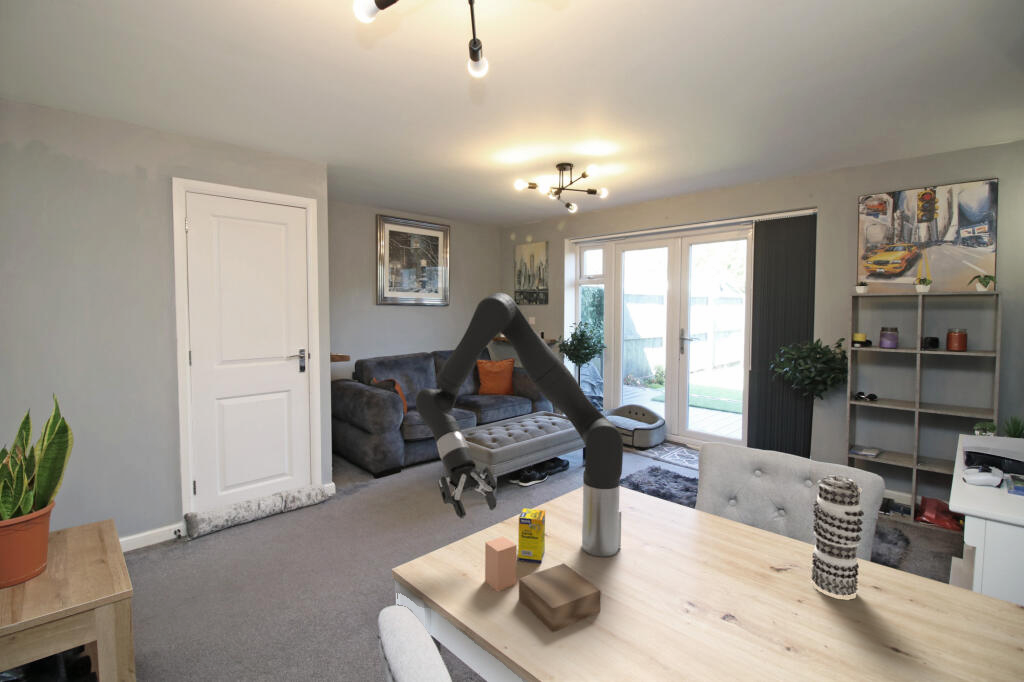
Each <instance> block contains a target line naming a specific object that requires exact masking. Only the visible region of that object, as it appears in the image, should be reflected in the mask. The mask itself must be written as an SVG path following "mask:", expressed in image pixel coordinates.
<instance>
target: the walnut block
mask: <svg viewBox="0 0 1024 682" xmlns="http://www.w3.org/2000/svg"><path fill="white" fill-rule="evenodd" d="M601 593H602V591H601V589H600V588H599V587H598V586H596V585H595V584H594V583H592V582H591V581H589V580H588V579H586V578H585V577H584V576H583V575H581V574H580V573H578V572H577V571H576V570H574V569H572V568H571V567H570V566H568V565H567V564H566V563H561V564H558V565H555V566H552V567H548V568H545V569H543V570H540V571H537V572H534V573H532V574H528V575H526V576H525V575H524V576H522V577H519V578H518V601H520V602H521V603H522V604H523V605H524V606H525V607H526V609H528V611H530V613H532V614H533V615H534V616H535V617H536V618H537V619H538V620H539V621H541V622H542V624H544V625H545V626H546V627H547V629H549V630H550V631H551V633H554V632H557V631H559V630H561V629H564V628H566V627H569V626H570V625H573V624H576V623H578V622H580V621H582V620H585V619H587V618H589V617H591V616H594V615H597V614H599V613H600V612H601V597H602V596H601Z"/></svg>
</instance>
